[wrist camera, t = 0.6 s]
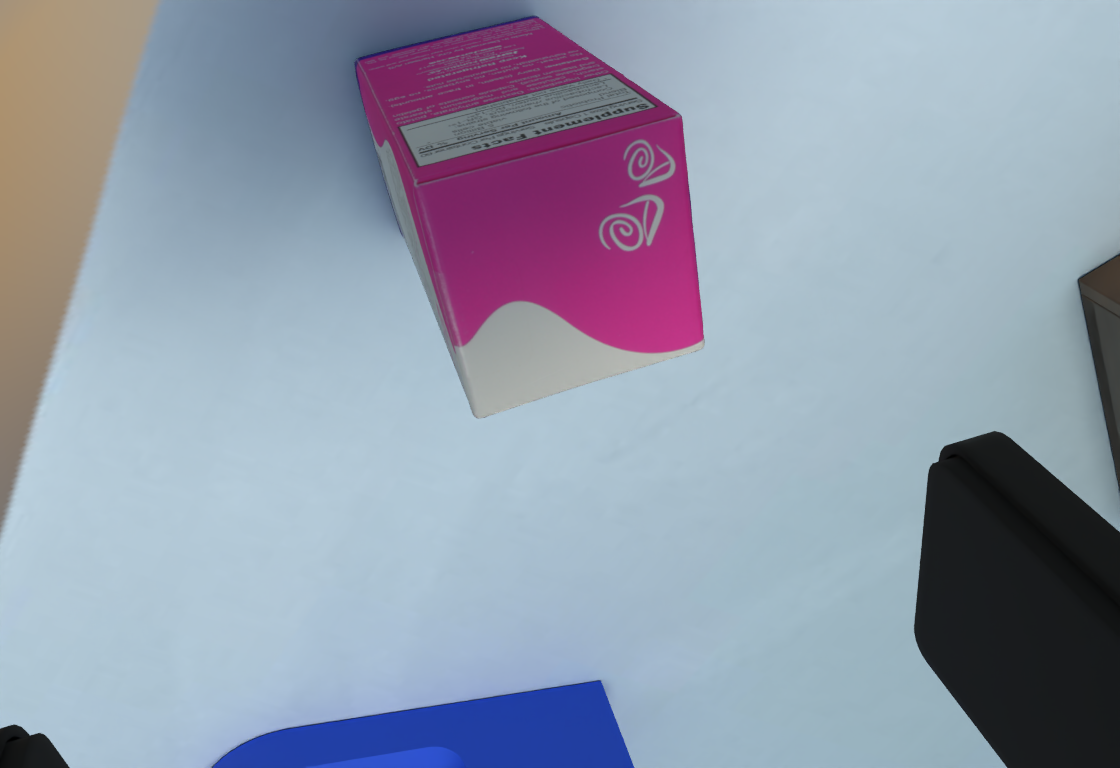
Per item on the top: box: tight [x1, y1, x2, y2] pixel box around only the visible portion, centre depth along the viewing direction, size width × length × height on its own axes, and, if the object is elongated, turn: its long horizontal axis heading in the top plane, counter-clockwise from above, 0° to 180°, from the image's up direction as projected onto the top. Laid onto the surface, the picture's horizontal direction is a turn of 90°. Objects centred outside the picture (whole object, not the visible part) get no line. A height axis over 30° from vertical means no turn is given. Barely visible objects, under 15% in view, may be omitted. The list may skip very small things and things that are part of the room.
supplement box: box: [354, 16, 705, 419], centre depth 24 cm, size 6×6×12 cm
